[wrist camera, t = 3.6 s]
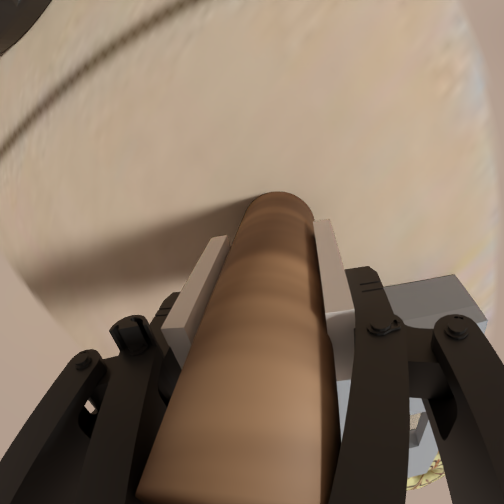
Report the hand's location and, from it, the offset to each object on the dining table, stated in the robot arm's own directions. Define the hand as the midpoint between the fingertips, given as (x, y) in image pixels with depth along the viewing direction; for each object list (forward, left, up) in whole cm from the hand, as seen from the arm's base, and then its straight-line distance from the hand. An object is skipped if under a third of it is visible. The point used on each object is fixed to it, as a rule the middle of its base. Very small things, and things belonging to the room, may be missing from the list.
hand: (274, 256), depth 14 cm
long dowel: (0, 0, -4) cm, 4 cm away
